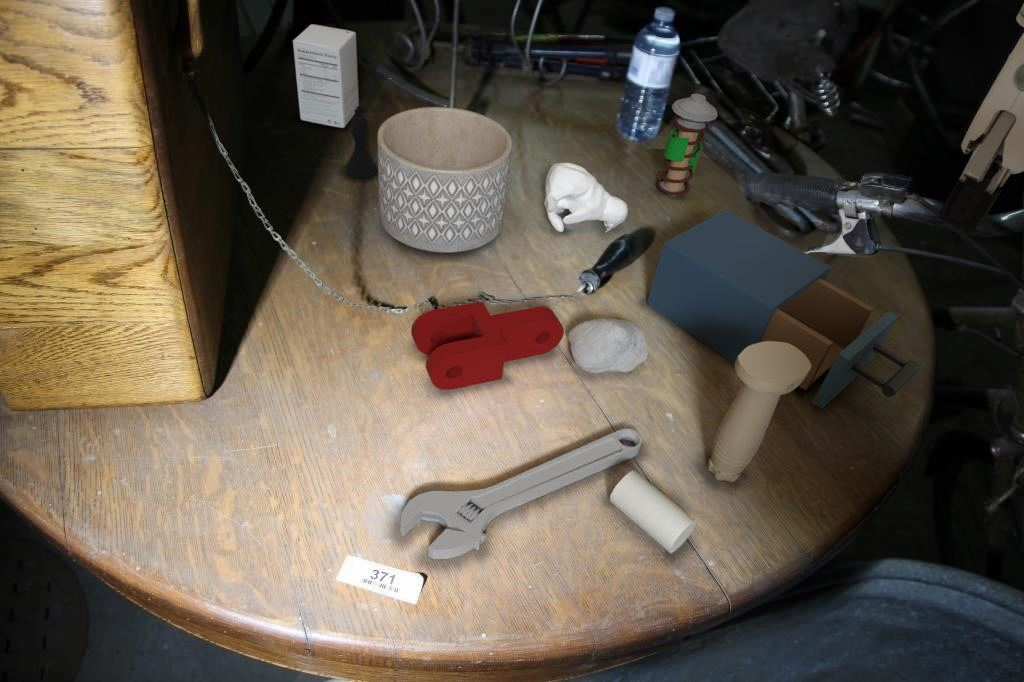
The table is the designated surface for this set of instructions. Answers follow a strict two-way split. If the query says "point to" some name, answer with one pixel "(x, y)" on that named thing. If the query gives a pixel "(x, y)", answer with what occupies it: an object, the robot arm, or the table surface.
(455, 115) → the planter
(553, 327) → the mechanical linkage
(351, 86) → the white packaging box
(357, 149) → the chess piece
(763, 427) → the handle
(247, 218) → the table surface
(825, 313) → the drawer
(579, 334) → the pebble
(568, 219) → the white figurine
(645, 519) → the white cylinder
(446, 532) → the adjustable wrench
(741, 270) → the cabinet
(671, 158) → the shock absorber
